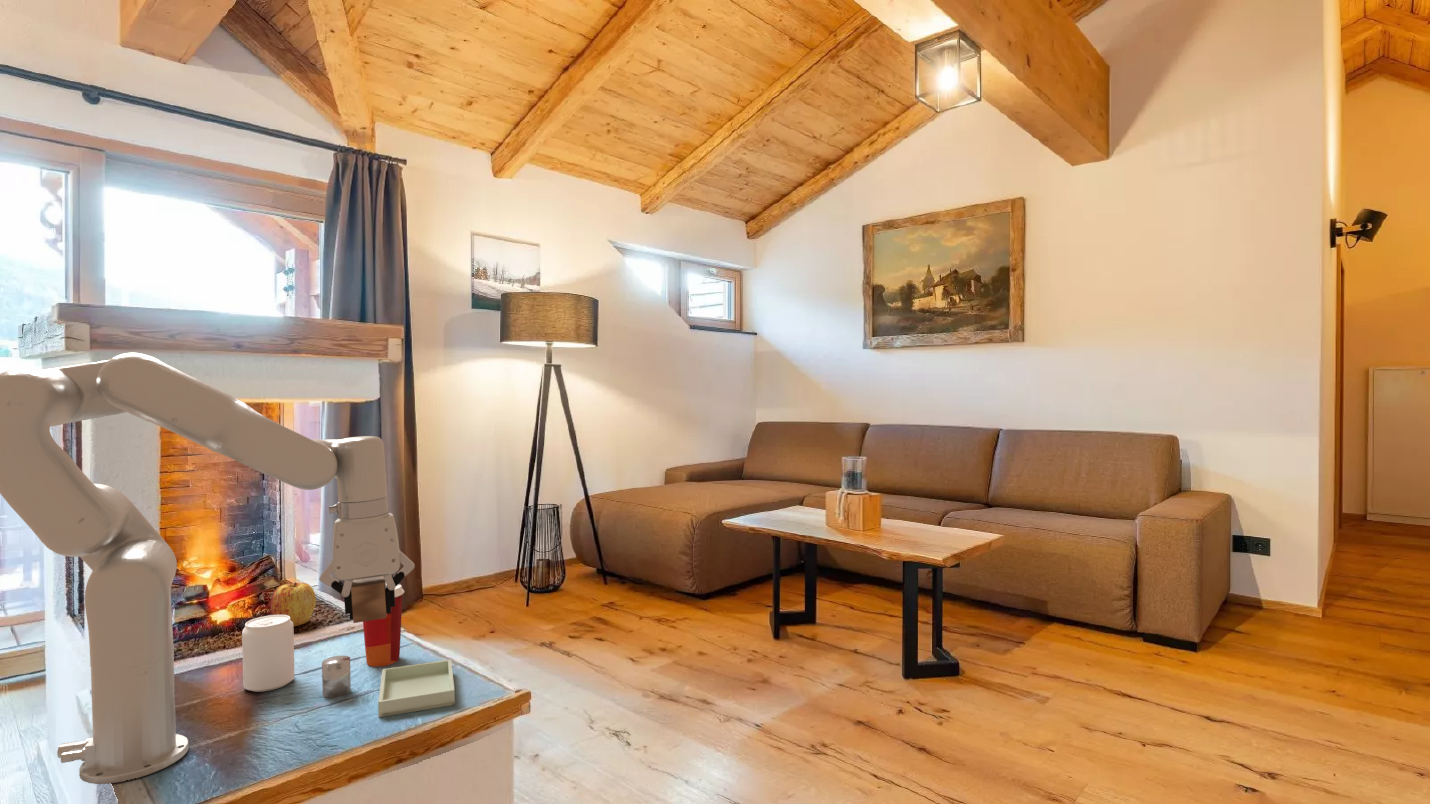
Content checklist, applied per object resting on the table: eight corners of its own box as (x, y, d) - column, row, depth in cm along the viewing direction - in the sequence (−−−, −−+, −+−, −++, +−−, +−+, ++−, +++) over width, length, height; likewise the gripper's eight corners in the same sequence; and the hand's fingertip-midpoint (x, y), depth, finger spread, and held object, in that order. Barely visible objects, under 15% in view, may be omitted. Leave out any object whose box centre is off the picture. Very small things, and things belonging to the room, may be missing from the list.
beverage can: (303, 680, 135) (302, 617, 135) (259, 697, 128) (258, 630, 128) (278, 672, 139) (277, 611, 139) (234, 688, 132) (232, 623, 131)
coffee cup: (393, 650, 150) (391, 579, 150) (413, 659, 145) (411, 586, 145) (352, 662, 144) (350, 588, 143) (371, 673, 139) (370, 596, 138)
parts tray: (378, 717, 120) (378, 702, 120) (382, 682, 134) (382, 669, 134) (454, 704, 125) (454, 690, 125) (451, 672, 138) (451, 659, 138)
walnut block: (353, 623, 120) (351, 587, 119) (355, 614, 124) (353, 579, 124) (386, 617, 122) (384, 583, 121) (387, 609, 126) (385, 575, 126)
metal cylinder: (321, 700, 127) (320, 666, 127) (324, 690, 131) (323, 657, 131) (349, 695, 128) (348, 662, 128) (351, 686, 133) (351, 654, 132)
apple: (295, 617, 172) (294, 575, 172) (325, 620, 170) (325, 578, 169) (261, 629, 163) (260, 586, 163) (294, 633, 161) (293, 589, 160)
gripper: (303, 519, 115) (311, 630, 116) (418, 507, 122) (425, 612, 123) (309, 511, 122) (317, 616, 123) (417, 500, 129) (424, 599, 130)
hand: (371, 613), depth 123 cm, fingers closed on walnut block, 5 cm apart
